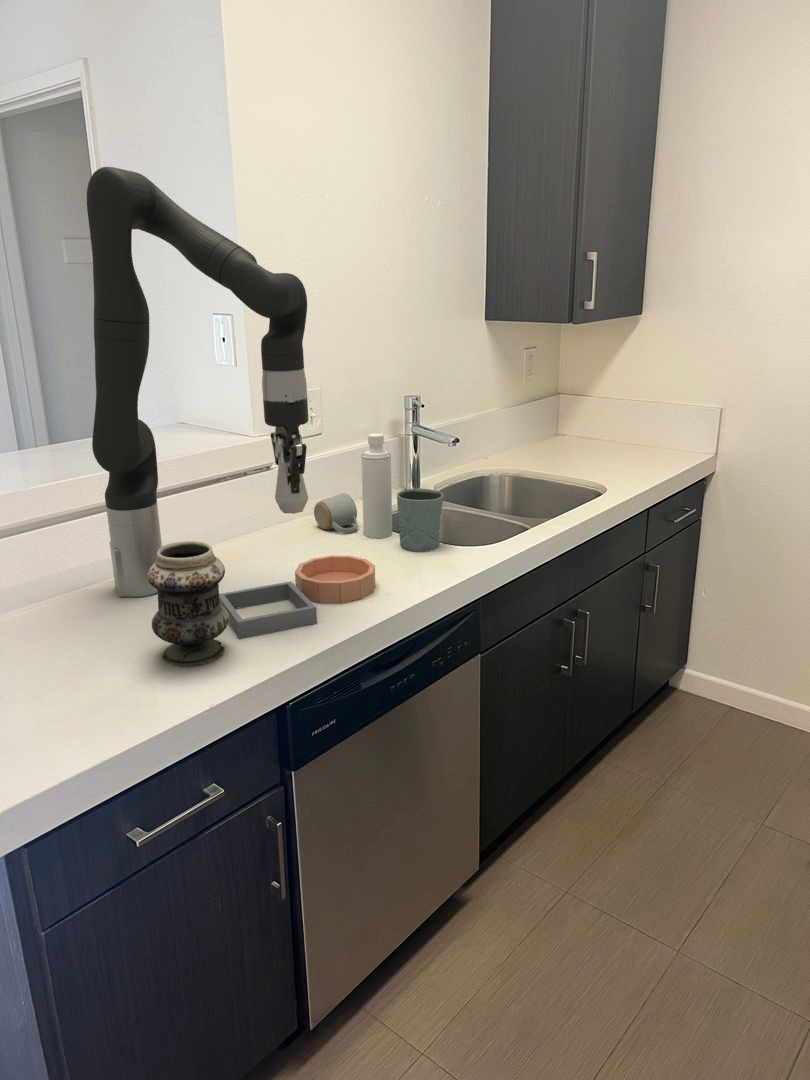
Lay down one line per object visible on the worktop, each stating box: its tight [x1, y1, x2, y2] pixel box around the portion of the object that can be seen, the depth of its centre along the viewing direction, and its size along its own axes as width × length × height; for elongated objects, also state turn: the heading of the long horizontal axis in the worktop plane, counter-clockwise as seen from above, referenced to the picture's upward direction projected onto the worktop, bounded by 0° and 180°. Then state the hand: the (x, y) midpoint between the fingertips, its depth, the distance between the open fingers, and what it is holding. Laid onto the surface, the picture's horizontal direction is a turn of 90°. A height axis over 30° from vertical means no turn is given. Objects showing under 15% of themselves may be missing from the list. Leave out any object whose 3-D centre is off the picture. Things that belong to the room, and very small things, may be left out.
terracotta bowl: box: [294, 554, 376, 604], centre depth 160 cm, size 15×15×4 cm
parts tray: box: [219, 580, 318, 639], centre depth 148 cm, size 14×14×3 cm
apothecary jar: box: [148, 540, 229, 668], centre depth 131 cm, size 12×12×18 cm
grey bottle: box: [361, 432, 393, 539], centre depth 188 cm, size 7×7×25 cm
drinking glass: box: [396, 488, 444, 553], centre depth 182 cm, size 10×10×12 cm
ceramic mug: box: [313, 492, 358, 535], centre depth 196 cm, size 11×8×8 cm
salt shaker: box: [274, 441, 309, 515], centre depth 145 cm, size 6×6×13 cm
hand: (291, 493), depth 146 cm, fingers closed on salt shaker, 3 cm apart
